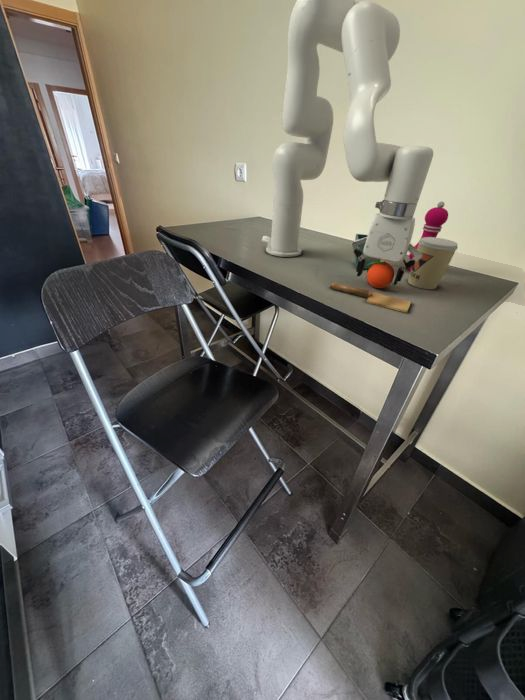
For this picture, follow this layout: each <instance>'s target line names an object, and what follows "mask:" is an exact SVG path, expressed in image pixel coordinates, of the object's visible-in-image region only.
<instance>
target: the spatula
mask: <svg viewBox="0 0 525 700" xmlns="http://www.w3.org/2000/svg"><path fill="white" fill-rule="evenodd" d="M329 287H330V288H331V289H332V290H335V291H339V292H342V293H346V294H350V295H355V296H358V297H361V298H366V303H367V304H371V305H374V306H379V307H383V308H387V309H389V310H394V311H398V312H401V313H405V314H408V311H409V309H410V306H411V303H412V301H409V300H406V299H402V298H397V297H393V296H390V295H385V294H382V293H377V292H372V291H371V290H368V289H364V288H360V287H355V286H351V285H348V284H343V283H340V282H335V281H333V282H331V283H330V286H329Z"/></svg>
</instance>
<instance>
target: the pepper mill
mask: <svg viewBox="0 0 525 700" xmlns="http://www.w3.org/2000/svg"><path fill="white" fill-rule="evenodd" d="M445 204H446V203H445V202H444V201H443V200H442V201H439V202H438V203H437V207H432V208H430V209H429V210H427V212H426V213H425V215H424V222H425V224H423V227H422V235H421V237H420V239H419V241H420V240H421V239H422V238H424V237H435V238H438V237H437V236H438V235H439V233H441V231H442V229H443V225H444V224H446V223H447V221H448V219H449V212H448V210H447V209H446V208H444V207H445ZM419 241H418V242H417V243H416V244H415V245H414V247H415V248H416V249H417V248H418V245H419ZM408 258H409V261H410V260H412V259H413V258H414V255H413V254H412V253H410V252H409V255H408ZM411 269H412V266H411V267H409V268H407V269H406V270H408V271H409V272H411Z"/></svg>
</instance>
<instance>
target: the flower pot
mask: <svg viewBox="0 0 525 700" xmlns="http://www.w3.org/2000/svg"><path fill="white" fill-rule="evenodd" d="M367 236H368V234H364V233H356V234H355V239H354V241H356V240H359V239H362V238H365V237H367ZM364 246H365V243H363V244H360V245H359V249H360V251H361V252H362V254H363V251H364ZM353 257H354V264H355V268H357V265H358V260H357V257H356V255H355V254H354V253H353ZM365 260H366V261H365V265H364V268H365V269H364V270H369V268H370V267H371V266H372V265H373V264H375V263H372V262H377V261H379V262H381V259H376V258H371V257H368V256H367V257H366V258H365ZM370 263H372V264H370ZM368 264H369V265H368Z"/></svg>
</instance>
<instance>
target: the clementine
mask: <svg viewBox="0 0 525 700" xmlns="http://www.w3.org/2000/svg"><path fill="white" fill-rule="evenodd" d="M372 263H375V264H373V265H372V266H371V267H370V268H369V269H367V272H366V280H367V283H368V284H369V285H370V286H371V287H373V288H375V289H383V288H386V287H388V286H390V285H391V284H392V283H393V281H394V279H395V270H394V267H393V266H392V265H391V264H390V263H388V262H386V261H380V262H379V261H377V262H372ZM372 263H370V264H372ZM368 265H369V264H368ZM363 270H366V269H365V268H364V269H363Z"/></svg>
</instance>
